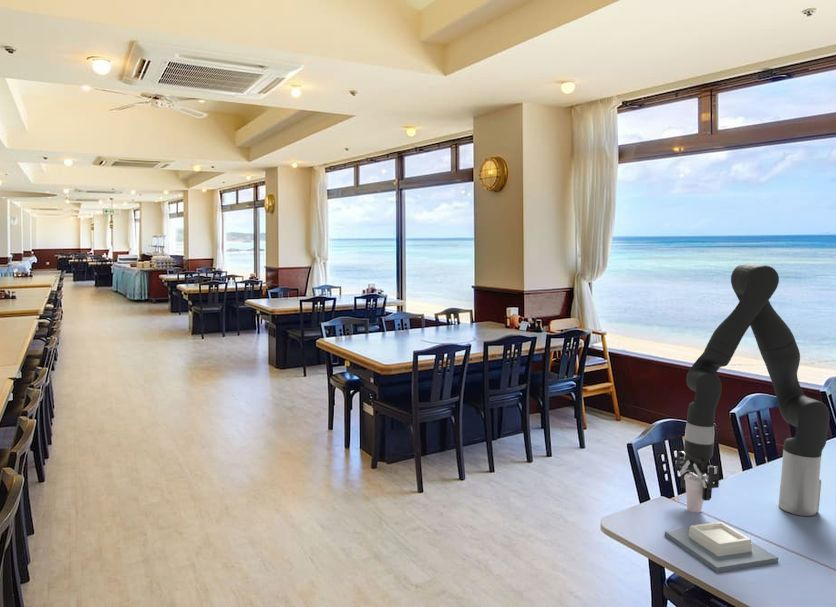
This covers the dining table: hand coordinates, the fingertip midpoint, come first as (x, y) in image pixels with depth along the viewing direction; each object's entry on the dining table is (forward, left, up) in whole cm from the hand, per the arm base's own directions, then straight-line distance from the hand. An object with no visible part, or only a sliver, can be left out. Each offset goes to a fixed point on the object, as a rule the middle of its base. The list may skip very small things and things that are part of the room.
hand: (694, 493), depth 169 cm
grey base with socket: (+10, +20, -5) cm, 23 cm away
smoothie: (0, 0, -5) cm, 5 cm away
